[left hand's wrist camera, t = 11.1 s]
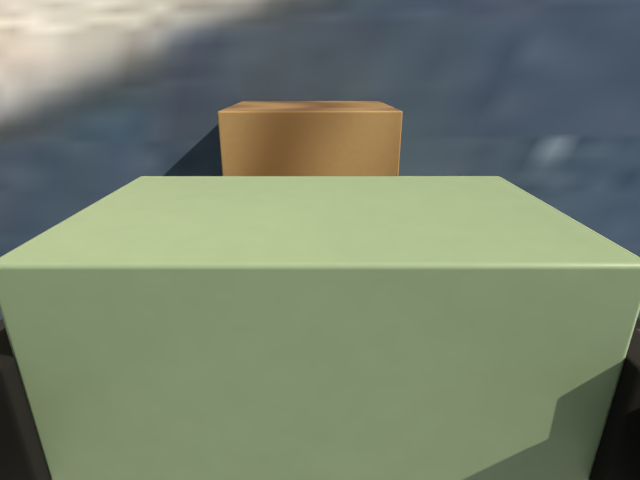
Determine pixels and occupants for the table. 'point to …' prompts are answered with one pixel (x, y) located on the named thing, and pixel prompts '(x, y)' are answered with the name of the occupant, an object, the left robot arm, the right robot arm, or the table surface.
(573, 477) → the sage cap block
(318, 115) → the wooden block
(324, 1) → the table surface
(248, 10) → the table surface
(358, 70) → the table surface
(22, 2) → the table surface
